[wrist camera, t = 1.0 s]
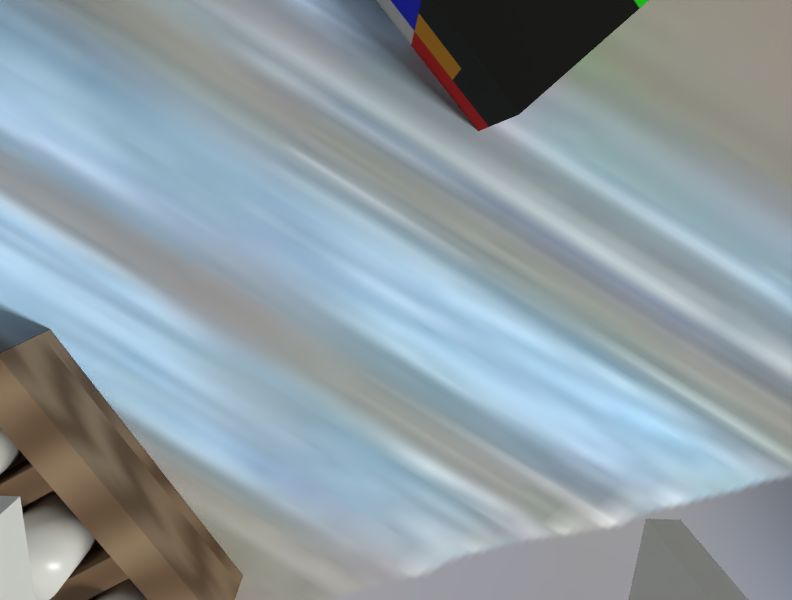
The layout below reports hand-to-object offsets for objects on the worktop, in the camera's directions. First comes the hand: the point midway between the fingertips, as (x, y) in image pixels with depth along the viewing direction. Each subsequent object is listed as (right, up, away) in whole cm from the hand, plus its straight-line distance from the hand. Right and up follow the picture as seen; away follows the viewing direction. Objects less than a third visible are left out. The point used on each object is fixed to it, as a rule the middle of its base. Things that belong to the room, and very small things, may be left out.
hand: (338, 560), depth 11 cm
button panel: (-22, -9, +28) cm, 37 cm away
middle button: (-22, -10, +25) cm, 35 cm away
